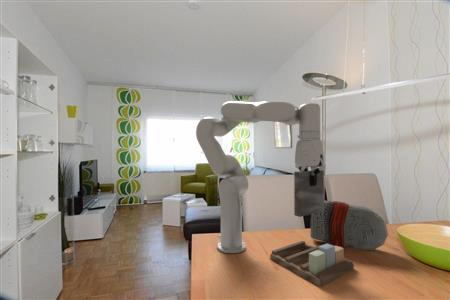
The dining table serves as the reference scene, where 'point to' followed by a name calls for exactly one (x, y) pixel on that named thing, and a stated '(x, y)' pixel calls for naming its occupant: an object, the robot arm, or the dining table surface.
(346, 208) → the decorative stone tablet
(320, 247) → the slate offcut board
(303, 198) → the charcoal panel
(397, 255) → the dining table surface
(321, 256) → the sage offcut board
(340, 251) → the terracotta offcut board
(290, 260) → the walnut rack
